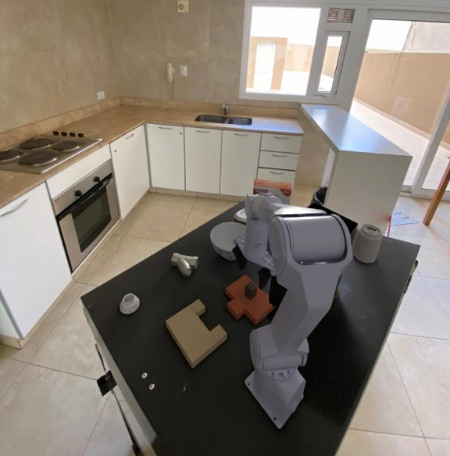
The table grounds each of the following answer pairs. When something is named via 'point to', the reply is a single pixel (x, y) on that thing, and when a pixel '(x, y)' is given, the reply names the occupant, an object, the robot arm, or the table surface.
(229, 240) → the chinaware
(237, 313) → the terracotta pad
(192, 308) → the sand pad
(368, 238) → the can
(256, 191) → the cracker box
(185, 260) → the pipe fitting
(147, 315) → the table surface
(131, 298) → the white jar
